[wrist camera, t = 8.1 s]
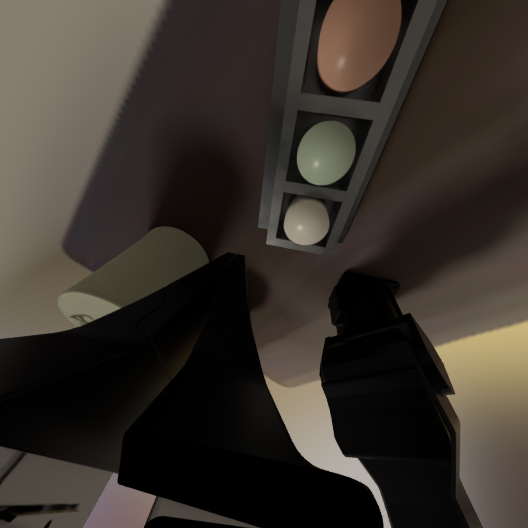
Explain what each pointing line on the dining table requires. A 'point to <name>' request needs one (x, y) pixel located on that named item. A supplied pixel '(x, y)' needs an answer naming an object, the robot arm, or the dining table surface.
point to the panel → (332, 115)
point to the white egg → (306, 220)
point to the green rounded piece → (326, 152)
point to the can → (133, 275)
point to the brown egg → (356, 42)
